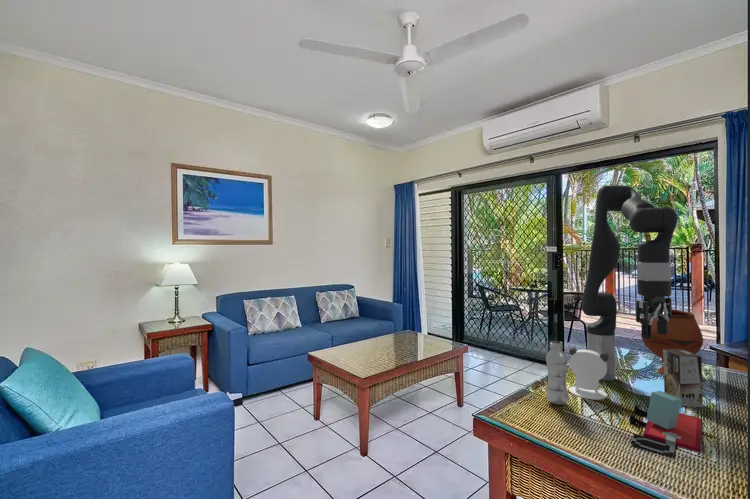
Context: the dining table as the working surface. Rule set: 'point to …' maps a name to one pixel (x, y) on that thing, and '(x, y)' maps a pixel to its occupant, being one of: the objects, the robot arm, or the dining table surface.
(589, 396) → the white round-based fixture
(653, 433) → the red board with handle
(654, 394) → the teal block
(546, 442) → the dining table surface
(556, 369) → the plastic bottle
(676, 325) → the terracotta clay pot
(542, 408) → the dining table surface
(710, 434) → the dining table surface
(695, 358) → the coffee box
